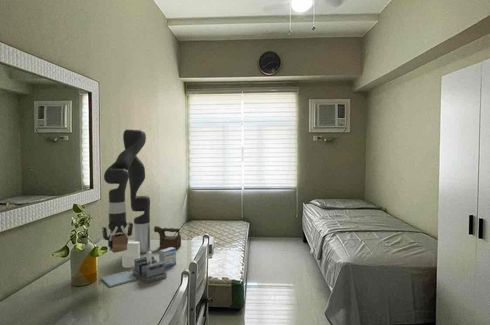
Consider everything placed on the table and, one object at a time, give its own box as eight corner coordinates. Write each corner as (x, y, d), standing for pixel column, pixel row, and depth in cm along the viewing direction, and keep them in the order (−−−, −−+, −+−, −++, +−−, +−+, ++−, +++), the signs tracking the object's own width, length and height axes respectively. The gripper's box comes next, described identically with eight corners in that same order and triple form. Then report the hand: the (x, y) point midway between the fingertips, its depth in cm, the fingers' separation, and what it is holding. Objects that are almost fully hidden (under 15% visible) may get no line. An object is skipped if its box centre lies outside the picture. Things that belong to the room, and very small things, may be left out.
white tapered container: (143, 261, 173) (142, 240, 173) (135, 268, 164) (135, 245, 164) (127, 261, 174) (126, 239, 174) (119, 267, 165) (118, 244, 165)
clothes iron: (158, 245, 203) (157, 224, 202) (182, 246, 201) (181, 225, 200) (152, 249, 195) (152, 227, 194) (177, 250, 193) (177, 228, 192)
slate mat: (101, 279, 151) (101, 277, 150) (126, 272, 158) (126, 270, 158) (110, 287, 142) (110, 285, 141) (136, 279, 149) (136, 278, 149)
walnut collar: (109, 249, 150) (109, 235, 149) (122, 247, 154) (122, 232, 153) (114, 252, 145) (113, 237, 145) (127, 250, 149) (126, 235, 149)
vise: (132, 273, 158) (132, 250, 157) (151, 267, 164) (151, 246, 164) (146, 283, 146) (146, 258, 145) (166, 277, 152) (166, 253, 152)
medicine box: (164, 268, 163) (164, 252, 163) (159, 266, 166) (158, 250, 166) (176, 264, 170) (176, 248, 169) (170, 262, 172) (170, 246, 172)
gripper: (129, 208, 156) (130, 241, 157) (98, 212, 147) (99, 248, 147) (135, 210, 150) (136, 245, 151) (104, 214, 141) (104, 252, 142)
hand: (118, 246), depth 149 cm, fingers closed on walnut collar, 6 cm apart
